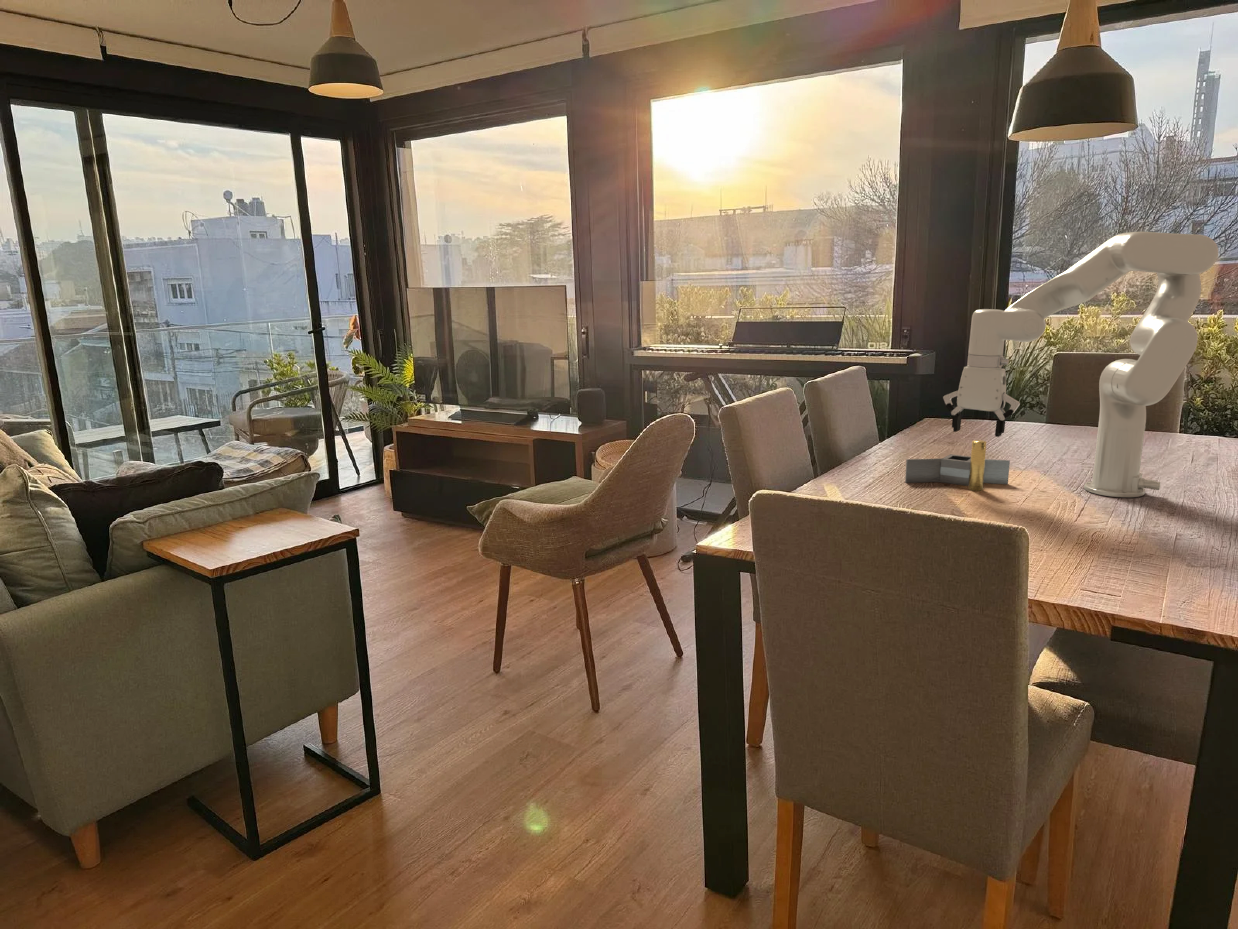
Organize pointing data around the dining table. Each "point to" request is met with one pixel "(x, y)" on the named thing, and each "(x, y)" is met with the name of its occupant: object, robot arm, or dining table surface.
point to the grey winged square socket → (954, 470)
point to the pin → (977, 465)
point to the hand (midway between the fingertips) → (977, 433)
